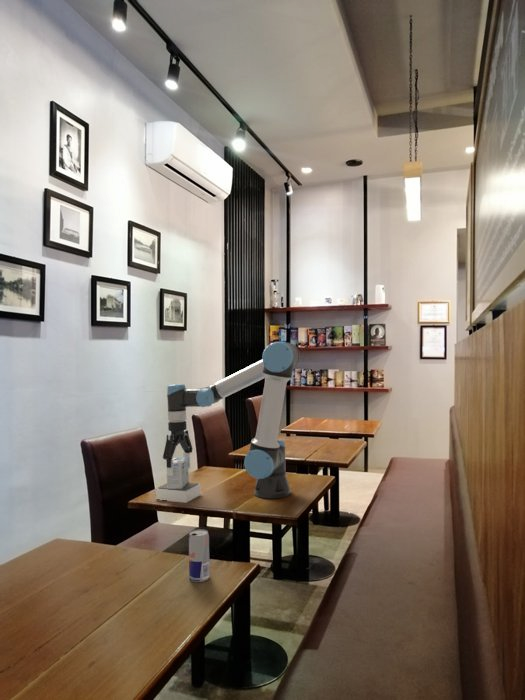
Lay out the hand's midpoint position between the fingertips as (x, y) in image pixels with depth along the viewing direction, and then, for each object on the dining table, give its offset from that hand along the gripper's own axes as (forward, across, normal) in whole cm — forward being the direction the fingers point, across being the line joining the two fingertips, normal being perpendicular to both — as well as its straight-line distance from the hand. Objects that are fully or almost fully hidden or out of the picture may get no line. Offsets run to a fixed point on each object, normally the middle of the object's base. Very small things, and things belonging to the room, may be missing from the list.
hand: (178, 471), depth 210 cm
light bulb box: (+6, 0, 0) cm, 6 cm away
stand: (+11, 0, 0) cm, 11 cm away
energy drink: (+12, +66, +44) cm, 80 cm away
